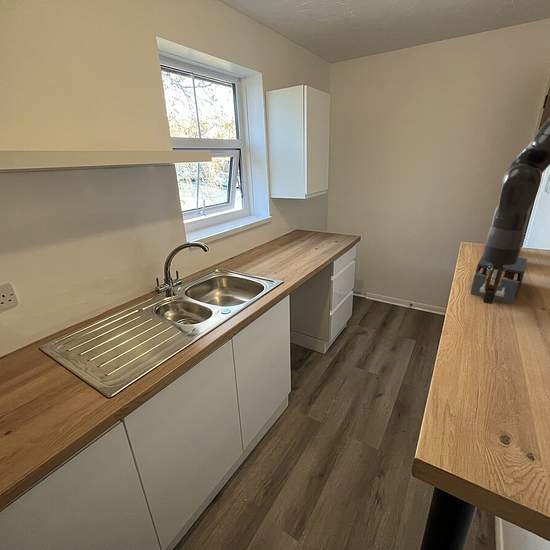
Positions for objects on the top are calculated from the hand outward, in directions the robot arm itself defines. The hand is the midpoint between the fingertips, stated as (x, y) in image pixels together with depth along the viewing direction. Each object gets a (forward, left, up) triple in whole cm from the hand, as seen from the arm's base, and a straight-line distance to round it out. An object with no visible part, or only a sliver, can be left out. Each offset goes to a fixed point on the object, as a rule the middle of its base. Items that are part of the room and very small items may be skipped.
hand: (487, 302), depth 85 cm
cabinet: (0, -28, -5) cm, 29 cm away
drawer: (0, -17, -4) cm, 17 cm away
